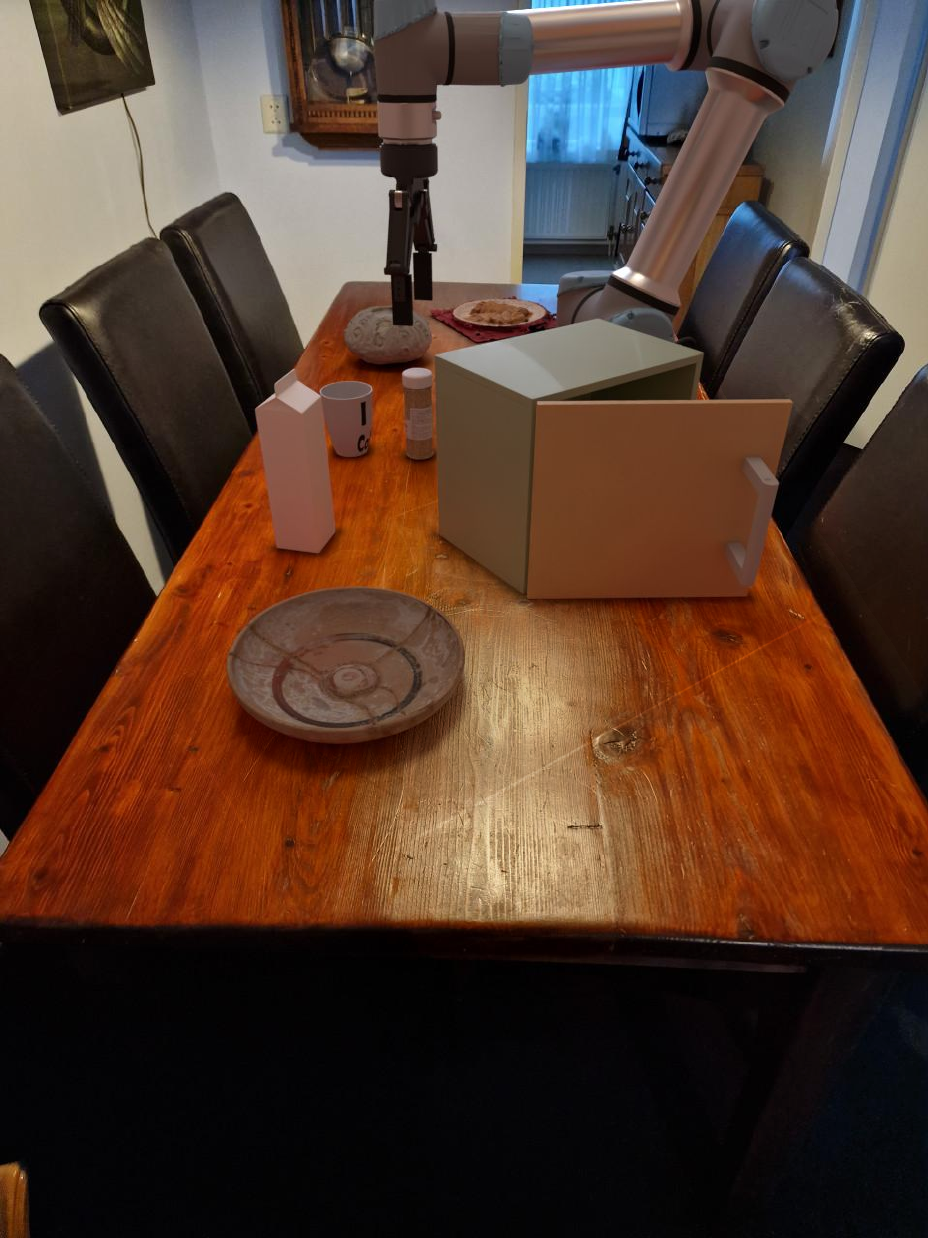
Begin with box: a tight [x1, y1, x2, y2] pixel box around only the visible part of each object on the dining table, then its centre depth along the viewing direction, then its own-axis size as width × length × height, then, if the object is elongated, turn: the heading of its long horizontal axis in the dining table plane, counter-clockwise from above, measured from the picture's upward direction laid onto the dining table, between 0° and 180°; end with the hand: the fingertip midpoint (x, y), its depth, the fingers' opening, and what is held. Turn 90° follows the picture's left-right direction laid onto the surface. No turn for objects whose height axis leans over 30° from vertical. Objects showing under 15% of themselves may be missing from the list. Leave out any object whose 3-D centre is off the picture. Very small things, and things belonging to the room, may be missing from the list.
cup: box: [319, 380, 374, 458], centre depth 129 cm, size 8×8×10 cm
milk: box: [254, 368, 336, 554], centre depth 102 cm, size 6×6×22 cm
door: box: [526, 398, 794, 600], centre depth 87 cm, size 8×26×24 cm, turn 91°
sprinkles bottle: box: [401, 367, 435, 461], centre depth 126 cm, size 5×5×14 cm
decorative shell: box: [343, 304, 433, 366], centre depth 166 cm, size 18×18×10 cm
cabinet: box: [434, 319, 705, 595], centre depth 102 cm, size 18×26×24 cm
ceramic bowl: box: [226, 585, 466, 744], centre depth 82 cm, size 23×24×5 cm
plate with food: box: [429, 295, 557, 343], centre depth 191 cm, size 24×26×4 cm
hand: (413, 311), depth 117 cm, fingers open, 13 cm apart
